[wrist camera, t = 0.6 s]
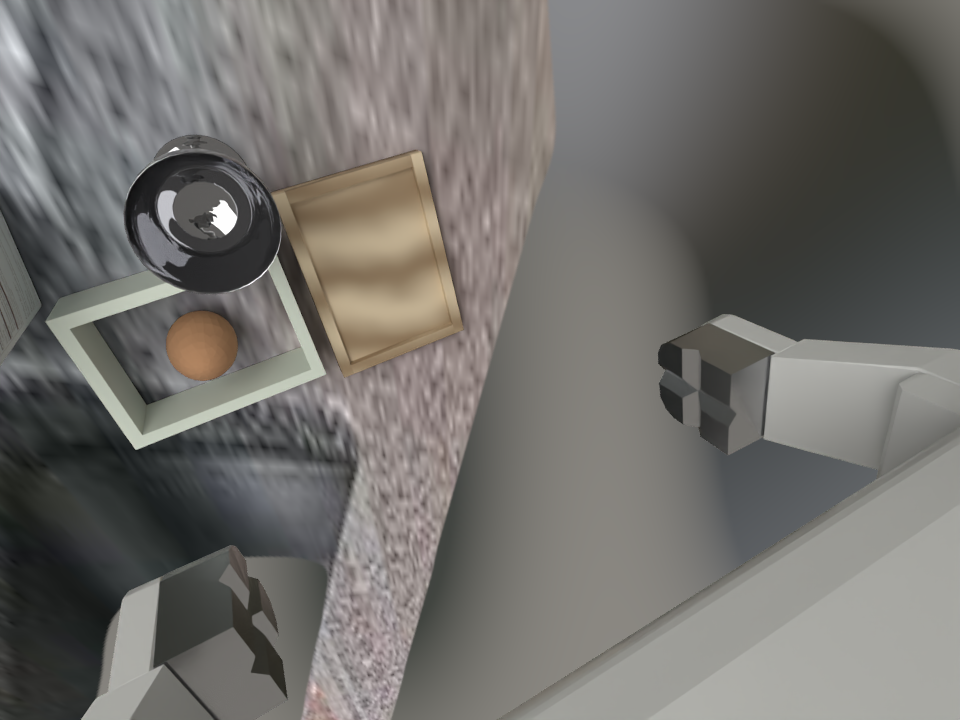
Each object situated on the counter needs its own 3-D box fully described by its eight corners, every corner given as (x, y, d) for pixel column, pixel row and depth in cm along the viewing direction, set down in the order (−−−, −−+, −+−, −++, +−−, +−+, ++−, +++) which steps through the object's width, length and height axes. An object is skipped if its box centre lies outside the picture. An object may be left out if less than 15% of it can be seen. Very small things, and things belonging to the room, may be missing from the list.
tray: (270, 192, 45) (272, 195, 44) (415, 149, 48) (421, 151, 47) (341, 370, 55) (344, 377, 53) (458, 324, 58) (463, 329, 57)
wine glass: (120, 188, 41) (89, 236, 28) (186, 104, 40) (184, 117, 28) (218, 254, 45) (226, 319, 33) (278, 180, 45) (310, 219, 33)
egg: (238, 302, 48) (244, 338, 41) (232, 356, 49) (237, 398, 43) (169, 295, 45) (165, 332, 39) (166, 352, 47) (161, 396, 40)
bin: (59, 297, 42) (45, 321, 38) (266, 232, 46) (273, 247, 42) (140, 418, 48) (135, 449, 44) (316, 351, 52) (326, 374, 48)
